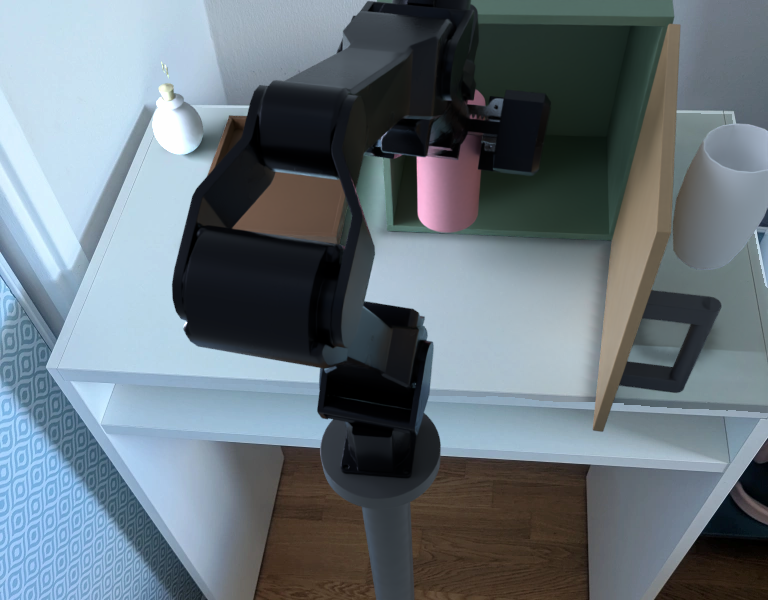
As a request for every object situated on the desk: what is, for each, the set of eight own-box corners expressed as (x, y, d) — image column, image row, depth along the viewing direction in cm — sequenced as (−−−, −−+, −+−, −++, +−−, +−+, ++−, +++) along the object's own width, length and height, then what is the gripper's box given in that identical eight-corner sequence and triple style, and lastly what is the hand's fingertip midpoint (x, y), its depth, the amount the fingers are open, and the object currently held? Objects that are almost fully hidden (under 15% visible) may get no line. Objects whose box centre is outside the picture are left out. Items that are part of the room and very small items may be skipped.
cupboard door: (674, 250, 83) (753, 28, 63) (666, 441, 71) (761, 241, 51) (610, 244, 84) (668, 23, 64) (592, 430, 72) (656, 231, 52)
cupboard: (615, 241, 84) (674, 16, 64) (386, 231, 87) (373, 12, 67) (611, 139, 93) (663, -88, 72) (404, 133, 96) (397, -87, 75)
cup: (640, 360, 76) (706, 180, 58) (628, 307, 79) (687, 121, 61) (714, 357, 76) (803, 175, 57) (698, 304, 79) (778, 116, 61)
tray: (338, 251, 86) (336, 236, 84) (191, 244, 88) (187, 230, 86) (364, 133, 96) (362, 118, 94) (232, 129, 98) (228, 115, 96)
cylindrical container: (478, 232, 79) (486, 124, 68) (416, 233, 79) (415, 125, 69) (477, 191, 82) (484, 82, 71) (418, 192, 82) (417, 84, 72)
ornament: (160, 167, 95) (133, 89, 86) (162, 131, 99) (137, 52, 90) (208, 161, 95) (186, 83, 86) (209, 125, 99) (187, 46, 90)
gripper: (565, -4, 56) (564, 61, 71) (324, -24, 59) (371, 43, 74) (535, 159, 59) (540, 189, 74) (308, 132, 62) (356, 166, 77)
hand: (451, 144), depth 74 cm, fingers closed on cylindrical container, 6 cm apart
